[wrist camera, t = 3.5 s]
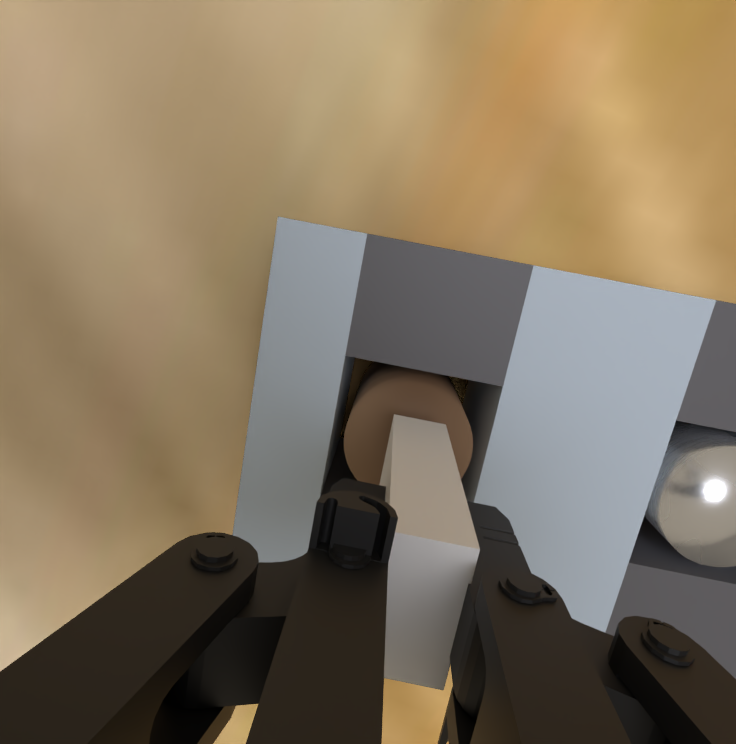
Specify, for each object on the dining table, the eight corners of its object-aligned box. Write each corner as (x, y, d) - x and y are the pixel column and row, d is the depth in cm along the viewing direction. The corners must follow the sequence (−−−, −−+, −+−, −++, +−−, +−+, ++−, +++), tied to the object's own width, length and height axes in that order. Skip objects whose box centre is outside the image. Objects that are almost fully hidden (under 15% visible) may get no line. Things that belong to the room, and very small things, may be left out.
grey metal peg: (581, 477, 22) (643, 552, 16) (608, 388, 21) (683, 434, 16) (675, 496, 22) (770, 578, 16) (705, 407, 21) (817, 461, 15)
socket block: (269, 501, 23) (226, 582, 18) (312, 228, 21) (277, 216, 15) (712, 590, 23) (819, 703, 17) (813, 324, 20) (980, 350, 15)
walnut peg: (350, 431, 22) (333, 490, 17) (367, 341, 21) (356, 370, 16) (442, 450, 22) (457, 515, 17) (463, 359, 21) (486, 396, 16)
